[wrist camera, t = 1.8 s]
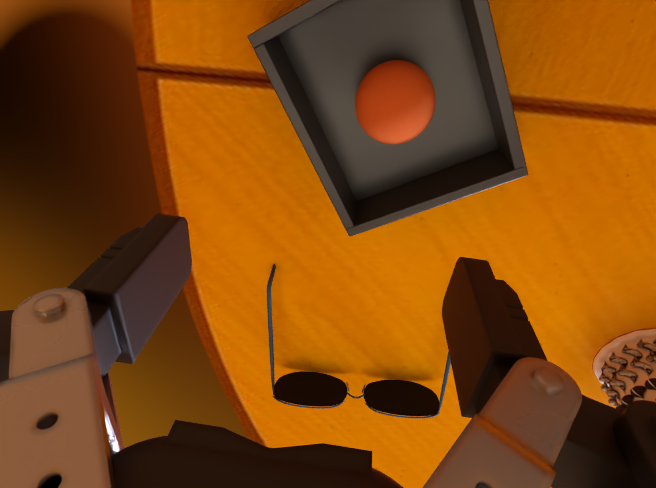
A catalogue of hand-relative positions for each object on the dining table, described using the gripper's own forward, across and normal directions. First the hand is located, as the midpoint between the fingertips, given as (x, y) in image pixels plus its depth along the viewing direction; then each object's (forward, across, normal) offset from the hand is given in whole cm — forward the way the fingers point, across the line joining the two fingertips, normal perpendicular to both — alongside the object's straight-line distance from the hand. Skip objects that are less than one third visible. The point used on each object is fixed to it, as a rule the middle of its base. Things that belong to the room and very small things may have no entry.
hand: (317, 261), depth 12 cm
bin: (+20, -3, -1) cm, 20 cm away
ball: (+17, -3, -1) cm, 17 cm away
